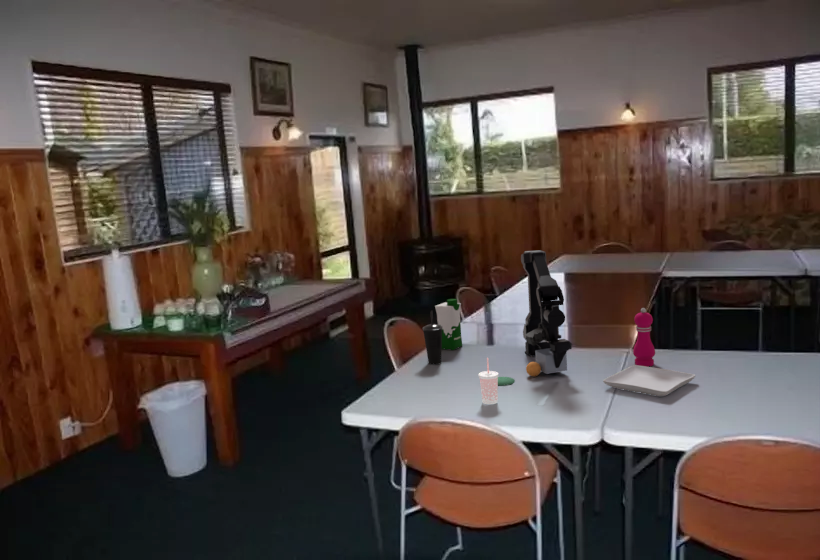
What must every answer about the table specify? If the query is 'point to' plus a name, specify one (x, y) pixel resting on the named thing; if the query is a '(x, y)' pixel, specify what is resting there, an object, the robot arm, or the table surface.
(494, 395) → the beverage cup
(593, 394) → the table surface
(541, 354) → the grey block
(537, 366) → the ball
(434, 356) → the drinking cup
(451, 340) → the milk carton
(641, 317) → the pepper mill
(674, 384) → the salad plate
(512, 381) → the disc
